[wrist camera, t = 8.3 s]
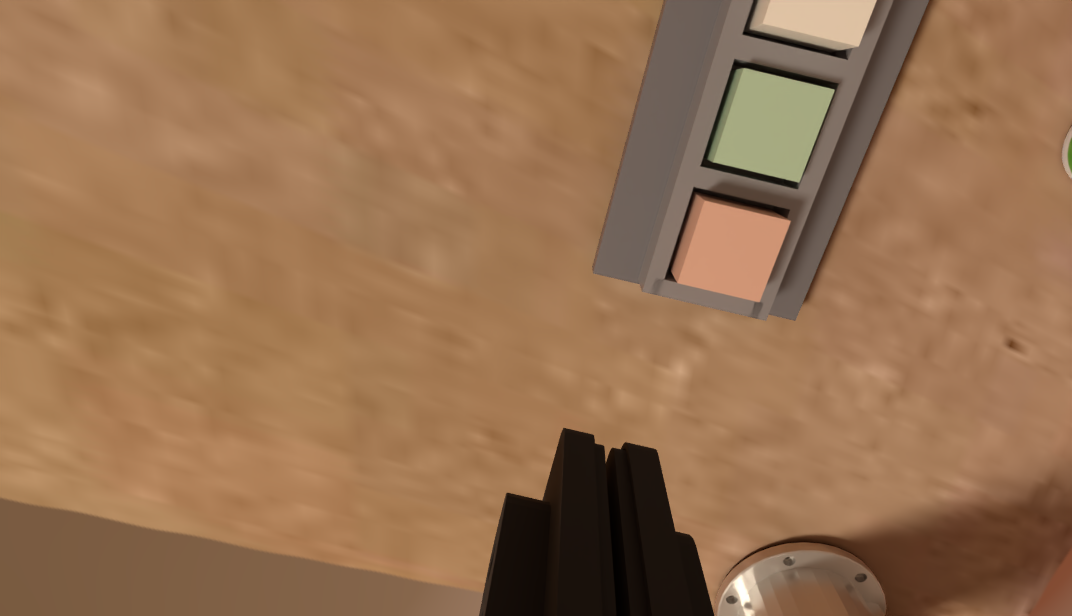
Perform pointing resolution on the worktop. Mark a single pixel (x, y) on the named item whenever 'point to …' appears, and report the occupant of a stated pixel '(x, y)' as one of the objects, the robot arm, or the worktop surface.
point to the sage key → (767, 123)
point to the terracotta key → (727, 246)
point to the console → (679, 167)
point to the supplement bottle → (1067, 153)
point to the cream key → (812, 22)
